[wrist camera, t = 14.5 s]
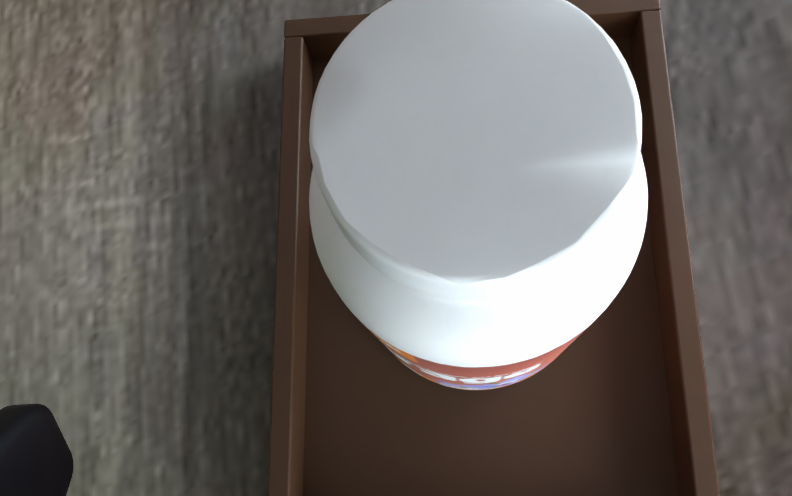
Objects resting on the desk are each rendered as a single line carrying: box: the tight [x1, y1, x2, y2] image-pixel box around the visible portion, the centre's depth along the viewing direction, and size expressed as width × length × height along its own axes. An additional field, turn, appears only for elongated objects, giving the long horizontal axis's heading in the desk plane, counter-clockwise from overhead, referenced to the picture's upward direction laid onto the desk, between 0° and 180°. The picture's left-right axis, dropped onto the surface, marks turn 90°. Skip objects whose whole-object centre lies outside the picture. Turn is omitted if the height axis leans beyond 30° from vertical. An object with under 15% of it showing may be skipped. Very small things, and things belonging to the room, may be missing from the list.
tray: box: [268, 0, 720, 496], centre depth 20 cm, size 16×11×2 cm
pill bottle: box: [309, 0, 648, 390], centre depth 15 cm, size 6×6×11 cm
